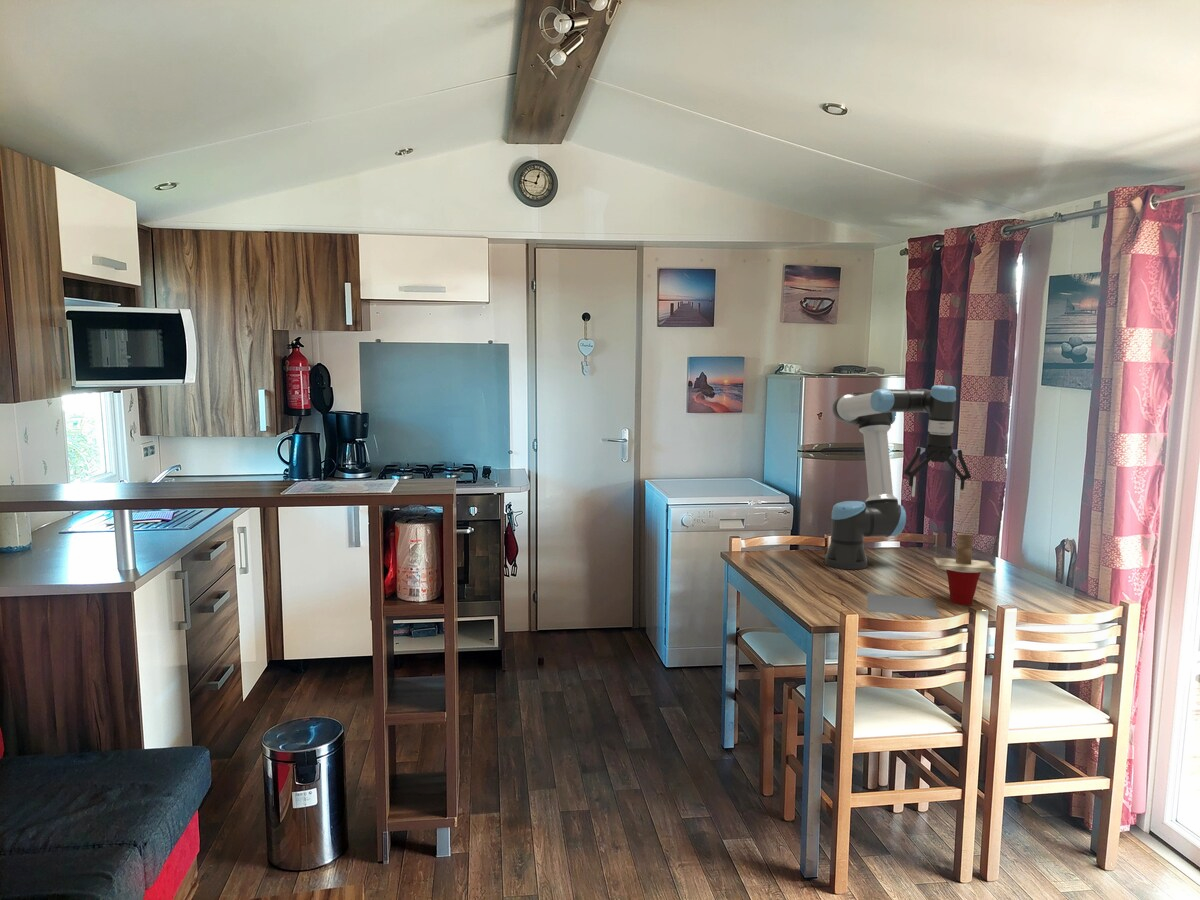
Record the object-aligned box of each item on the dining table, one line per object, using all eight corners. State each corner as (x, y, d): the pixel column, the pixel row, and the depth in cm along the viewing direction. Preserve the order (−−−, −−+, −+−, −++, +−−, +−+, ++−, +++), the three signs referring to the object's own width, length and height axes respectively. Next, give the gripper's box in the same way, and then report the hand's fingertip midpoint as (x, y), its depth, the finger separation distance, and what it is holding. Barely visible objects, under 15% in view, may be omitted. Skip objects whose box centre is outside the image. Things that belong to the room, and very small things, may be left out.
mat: (867, 613, 248) (867, 610, 248) (866, 595, 267) (867, 593, 267) (939, 620, 242) (939, 617, 242) (933, 601, 261) (933, 599, 261)
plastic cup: (972, 600, 264) (975, 563, 263) (985, 610, 253) (987, 571, 252) (937, 598, 265) (939, 561, 264) (948, 608, 254) (950, 570, 253)
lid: (938, 569, 252) (939, 535, 252) (933, 561, 268) (934, 529, 267) (995, 572, 248) (996, 538, 247) (987, 564, 263) (988, 532, 263)
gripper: (900, 432, 268) (895, 496, 271) (983, 436, 261) (978, 502, 264) (898, 430, 275) (894, 492, 278) (980, 434, 268) (974, 498, 271)
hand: (935, 497), depth 271 cm, fingers open, 13 cm apart
